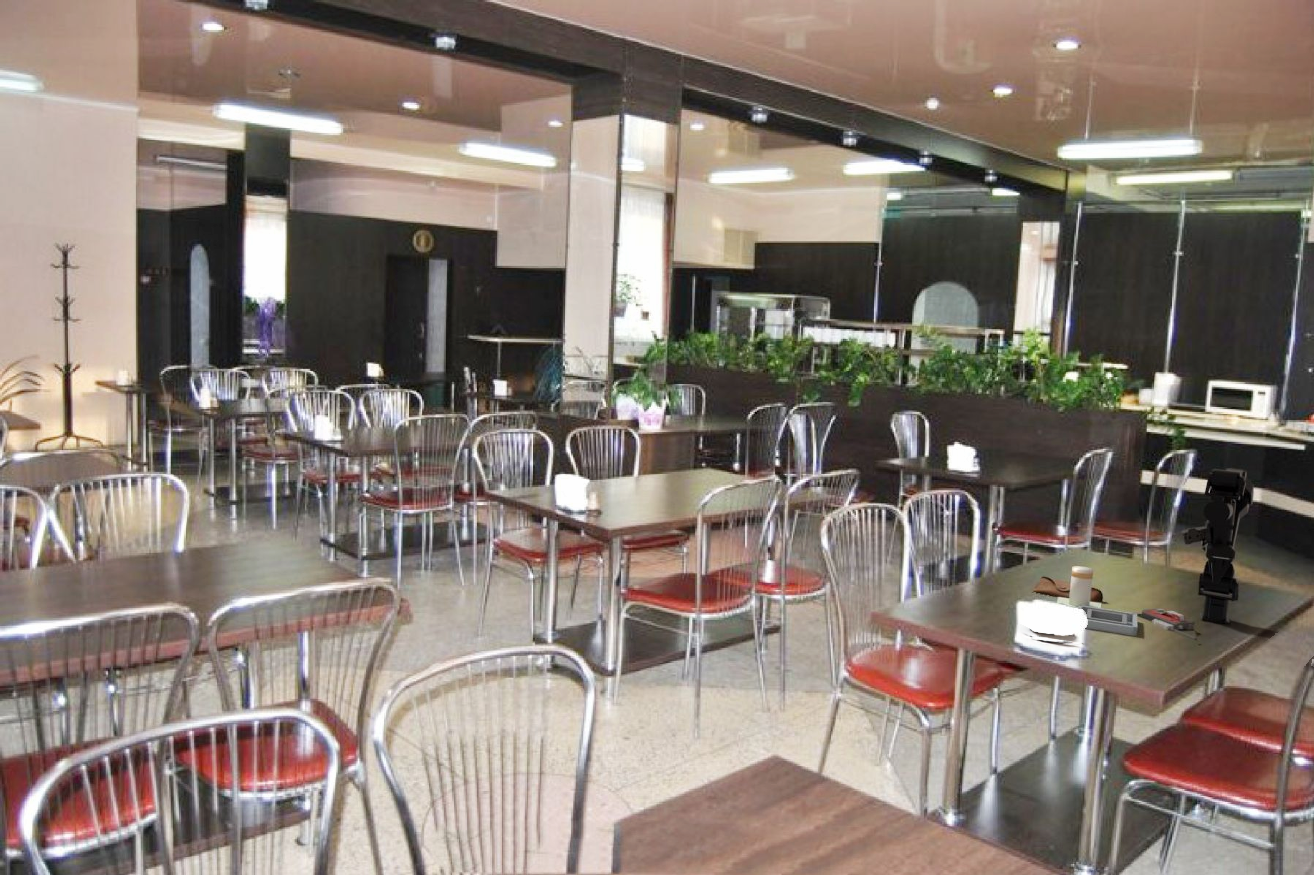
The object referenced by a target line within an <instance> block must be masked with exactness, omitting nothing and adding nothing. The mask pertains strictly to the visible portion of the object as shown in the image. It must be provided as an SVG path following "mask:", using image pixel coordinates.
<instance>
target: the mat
mask: <svg viewBox="0 0 1314 875" xmlns="http://www.w3.org/2000/svg"><path fill="white" fill-rule="evenodd" d="M1056 600H1057V601H1056V604H1057V603H1063V604H1065V605H1067V606H1072V605H1070V604H1069V598H1063V597H1057V599H1056ZM1102 605H1103V604H1102V602H1098V603H1097V602H1090V606H1089V607H1096V608H1102ZM1073 607H1075V606H1073ZM1077 608H1078V607H1077Z"/></svg>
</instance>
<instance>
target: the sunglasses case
mask: <svg viewBox="0 0 1314 875" xmlns="http://www.w3.org/2000/svg"><path fill="white" fill-rule="evenodd" d="M1070 586H1071V582H1067V581H1063V580H1058V579H1054V578H1051V577H1048V576H1044V575H1043V576H1042V577H1041V578H1040V579H1039V581H1038V582H1037V583H1036V585H1035V586H1034V588H1033V589H1032V590H1031V591H1033V592H1036V593H1035V594H1038V593H1041V594H1040V595H1043V594H1044V595H1043V596H1047V595H1049V596H1048V597H1052V598H1058V597H1063V598H1069V595H1070ZM1033 592H1032V593H1033ZM1103 600H1104V594H1103V591H1102V590H1100V589H1098V588H1096V587H1091V597H1090V602H1097V603H1102V602H1103Z"/></svg>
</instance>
